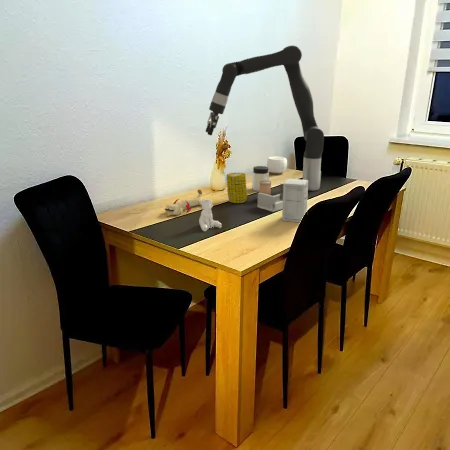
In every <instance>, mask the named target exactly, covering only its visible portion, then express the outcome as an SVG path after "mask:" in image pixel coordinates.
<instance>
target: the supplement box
mask: <svg viewBox="0 0 450 450" xmlns="http://www.w3.org/2000/svg"><path fill="white" fill-rule="evenodd" d="M282 184H283V209H281V210H282V214H281V215H282V217H281V218H282V219H281V221H282V222H293V223H301V222H300V221H301V219H302V217H303V216H304V214H305V213H306V211H307V212H308V195H309V193H308V191H309V190H308V180H303V179H296V178H287V179H286V180H285V181H284V182H283V183H282Z"/></svg>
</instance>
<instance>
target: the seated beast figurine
mask: <svg viewBox="0 0 450 450" xmlns="http://www.w3.org/2000/svg"><path fill="white" fill-rule="evenodd" d="M202 200H203V199H202ZM202 200H201V201H199V203H200V204H202V205H201V207H202V211H201V213H200V216H199V219H198V222H199V223H198V224H199V226H200V229H201V230H202V231H203V232H207V230H209V228H210V229H214V227H215V228H219V229H221V228H222V226H223V224H222V223H221V222H220V221H219V220H214V219H213V212H212V208H213V207H214V205H213V200H212V199H210V198H205V199H204V200H203V201H202ZM212 227H213V228H212Z"/></svg>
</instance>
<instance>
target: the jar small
mask: <svg viewBox="0 0 450 450" xmlns="http://www.w3.org/2000/svg"><path fill="white" fill-rule="evenodd" d="M259 184H260V189H259V191H258V193H259V192H260V193H264V194H267V195H271V194H272V193H271V191H272V181H270V180H269V181H267V180H263V181H260V182H259ZM271 196H272V195H271Z"/></svg>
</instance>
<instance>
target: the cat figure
mask: <svg viewBox="0 0 450 450" xmlns="http://www.w3.org/2000/svg"><path fill="white" fill-rule="evenodd" d="M202 194H203V192H202V190H201V189H197V196H196V197H195V198H193V197H192V198H191V197H190V198H187V199H181V200H180V198H178V199H176V200H175V201H174V202H173V203H169V204H166V206H165V208H164V211H165V214H166V216H168V217H169V216H172V215H173V216H175V215H181V214H182V213H183V211H184V209H185V208H186V213H187V212H188V213H189V212H190V211H191V207H194V206H196V207H197V206H202V204H200V203H199V201H203V200H204V199H202V200H201V197H202Z"/></svg>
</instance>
